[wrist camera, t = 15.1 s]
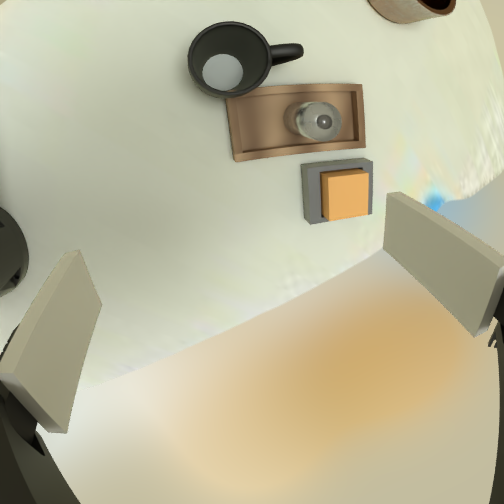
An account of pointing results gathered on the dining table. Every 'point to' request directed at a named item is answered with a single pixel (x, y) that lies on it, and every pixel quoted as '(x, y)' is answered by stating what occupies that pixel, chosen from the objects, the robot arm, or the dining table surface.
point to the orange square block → (344, 193)
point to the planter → (413, 9)
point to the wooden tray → (272, 125)
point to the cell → (313, 120)
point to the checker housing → (313, 184)
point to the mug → (238, 55)
